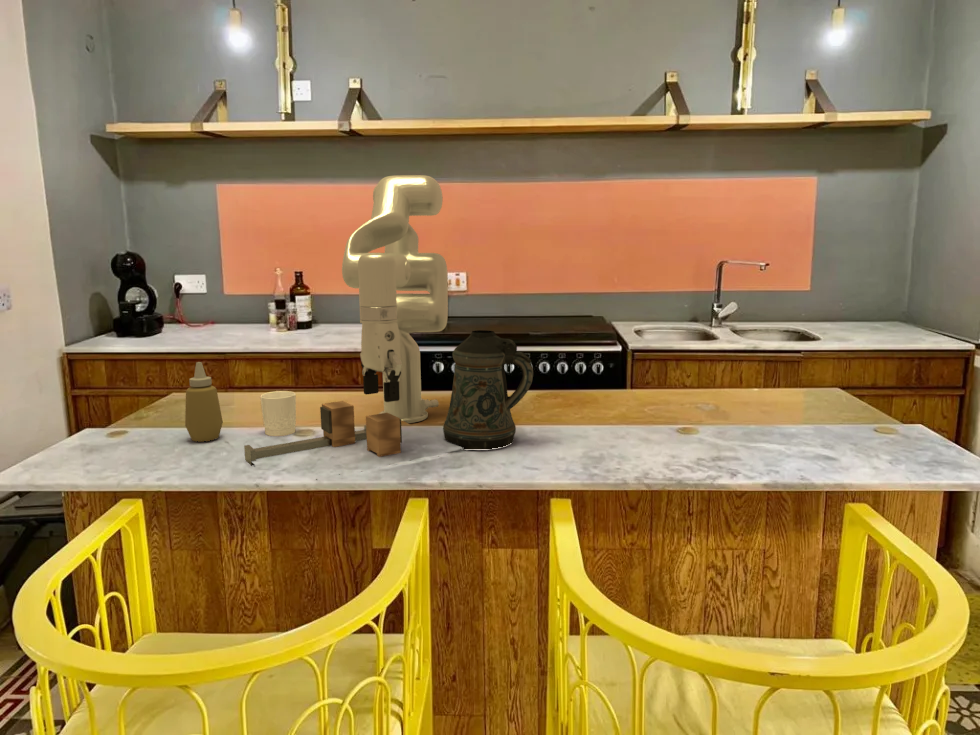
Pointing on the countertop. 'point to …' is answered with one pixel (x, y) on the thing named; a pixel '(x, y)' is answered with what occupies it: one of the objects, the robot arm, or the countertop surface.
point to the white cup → (279, 412)
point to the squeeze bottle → (202, 407)
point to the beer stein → (484, 392)
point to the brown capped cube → (383, 434)
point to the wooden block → (338, 422)
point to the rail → (293, 446)
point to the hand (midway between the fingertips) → (381, 397)
